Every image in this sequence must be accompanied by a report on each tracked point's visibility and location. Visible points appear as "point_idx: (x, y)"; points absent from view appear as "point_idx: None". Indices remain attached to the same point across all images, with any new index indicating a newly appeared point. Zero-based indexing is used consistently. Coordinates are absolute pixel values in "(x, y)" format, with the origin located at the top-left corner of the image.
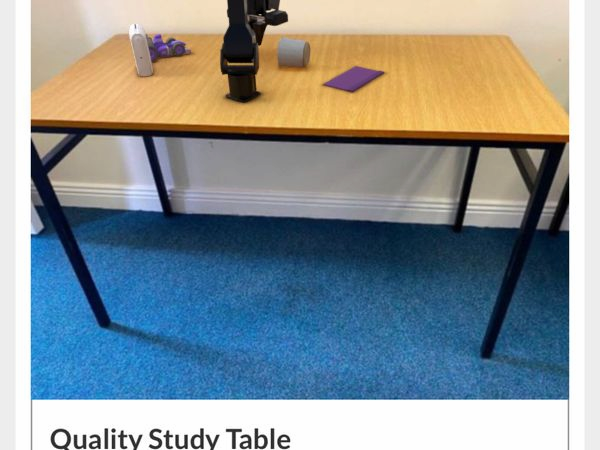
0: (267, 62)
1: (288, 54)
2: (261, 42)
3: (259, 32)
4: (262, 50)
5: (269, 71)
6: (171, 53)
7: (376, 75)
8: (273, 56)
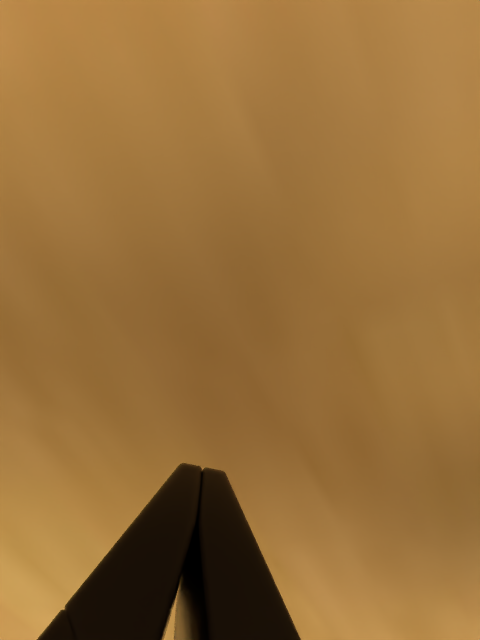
0: (361, 495)
1: None
2: (235, 506)
3: None
4: (108, 155)
5: (450, 636)
6: None
7: None
8: (358, 328)
